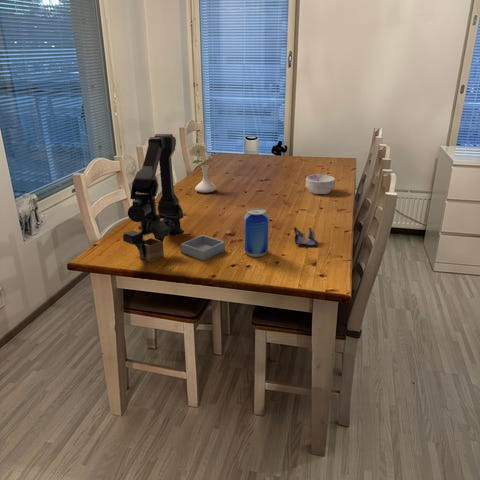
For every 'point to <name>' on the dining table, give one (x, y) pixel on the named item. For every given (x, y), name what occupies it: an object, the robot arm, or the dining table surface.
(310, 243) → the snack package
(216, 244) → the grey crate
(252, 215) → the beer can
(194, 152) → the flower in vase
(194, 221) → the dining table surface
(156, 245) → the walnut crate
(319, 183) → the paper bowls
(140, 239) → the robot arm
